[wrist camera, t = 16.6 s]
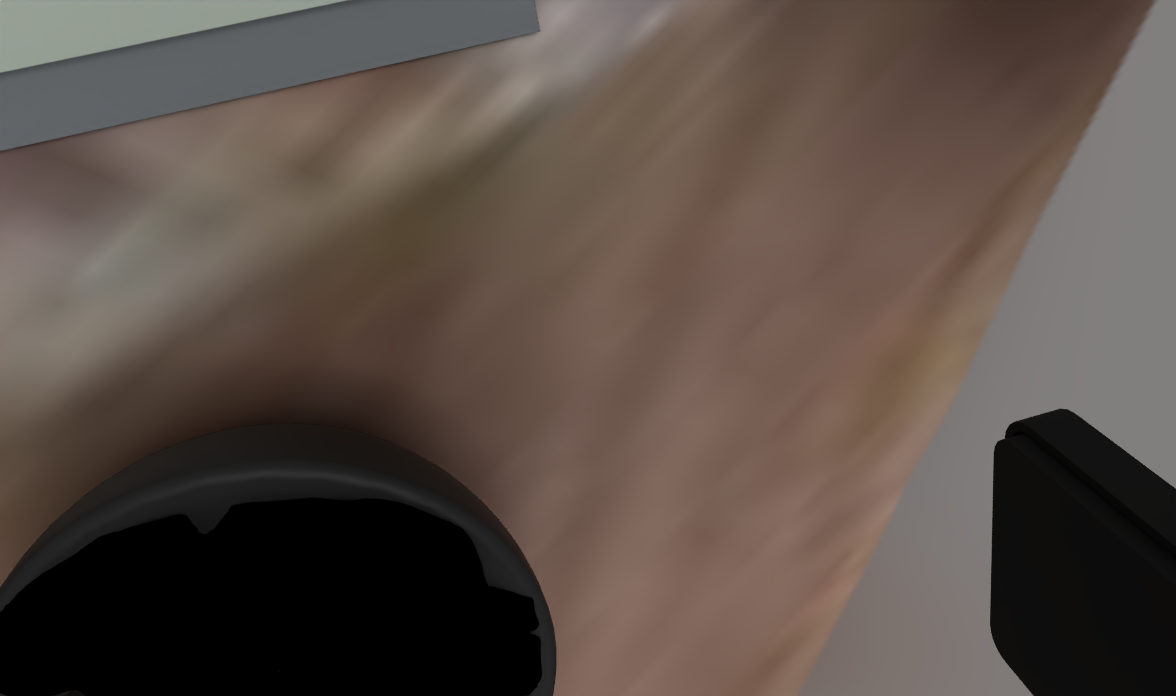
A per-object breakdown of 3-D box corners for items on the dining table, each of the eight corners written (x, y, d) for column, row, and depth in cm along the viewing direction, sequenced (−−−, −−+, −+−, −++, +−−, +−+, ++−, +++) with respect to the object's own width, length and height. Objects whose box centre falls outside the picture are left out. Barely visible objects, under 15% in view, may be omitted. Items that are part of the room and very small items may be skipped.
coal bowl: (32, 701, 45) (-148, 1190, 28) (56, 296, 37) (-170, 637, 21) (467, 715, 51) (528, 1123, 34) (562, 367, 43) (698, 676, 27)
